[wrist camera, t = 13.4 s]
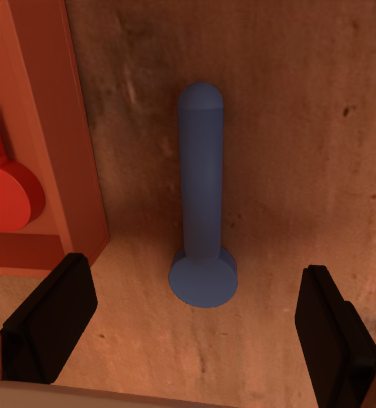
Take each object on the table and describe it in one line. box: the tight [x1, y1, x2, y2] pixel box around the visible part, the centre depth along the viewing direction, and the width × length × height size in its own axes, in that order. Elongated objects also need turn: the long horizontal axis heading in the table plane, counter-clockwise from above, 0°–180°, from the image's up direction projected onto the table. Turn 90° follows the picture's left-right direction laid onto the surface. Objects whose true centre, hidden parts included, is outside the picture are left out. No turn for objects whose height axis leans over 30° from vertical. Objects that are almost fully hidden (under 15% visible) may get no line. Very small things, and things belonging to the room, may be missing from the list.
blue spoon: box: [169, 82, 237, 308], centre depth 15 cm, size 14×4×2 cm, turn 2°
